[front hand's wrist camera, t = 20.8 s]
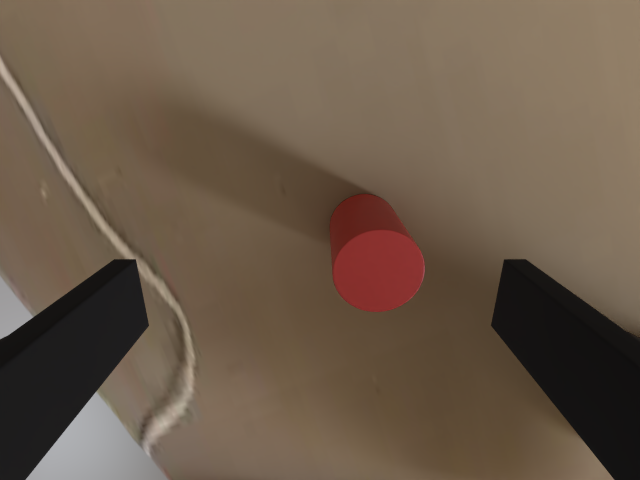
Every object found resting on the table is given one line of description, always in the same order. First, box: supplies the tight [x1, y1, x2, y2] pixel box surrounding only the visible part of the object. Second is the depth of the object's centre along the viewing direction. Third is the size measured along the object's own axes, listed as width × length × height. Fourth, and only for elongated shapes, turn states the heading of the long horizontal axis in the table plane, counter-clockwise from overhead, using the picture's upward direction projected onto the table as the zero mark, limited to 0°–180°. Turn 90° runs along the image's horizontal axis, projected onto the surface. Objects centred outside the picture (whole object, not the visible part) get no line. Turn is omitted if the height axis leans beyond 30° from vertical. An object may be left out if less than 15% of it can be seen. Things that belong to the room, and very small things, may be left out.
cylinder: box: [330, 194, 425, 312], centre depth 27 cm, size 6×6×9 cm
